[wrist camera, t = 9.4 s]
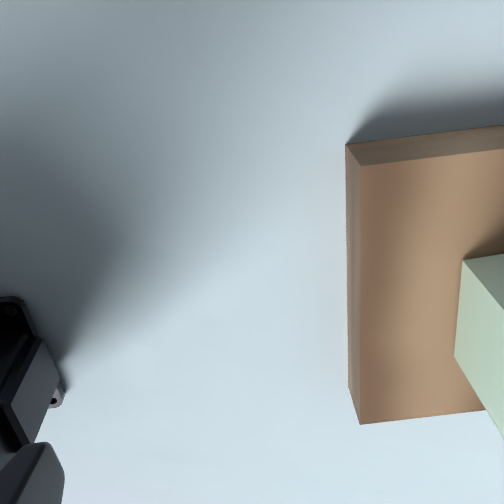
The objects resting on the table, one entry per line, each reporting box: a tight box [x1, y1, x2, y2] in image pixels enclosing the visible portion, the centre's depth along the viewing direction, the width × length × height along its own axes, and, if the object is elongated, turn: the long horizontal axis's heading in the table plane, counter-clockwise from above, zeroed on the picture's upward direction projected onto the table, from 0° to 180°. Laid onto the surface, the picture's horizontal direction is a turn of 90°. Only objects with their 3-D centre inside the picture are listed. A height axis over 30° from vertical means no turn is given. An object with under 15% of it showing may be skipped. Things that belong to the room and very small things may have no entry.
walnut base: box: [345, 125, 504, 425], centre depth 21 cm, size 13×13×3 cm
